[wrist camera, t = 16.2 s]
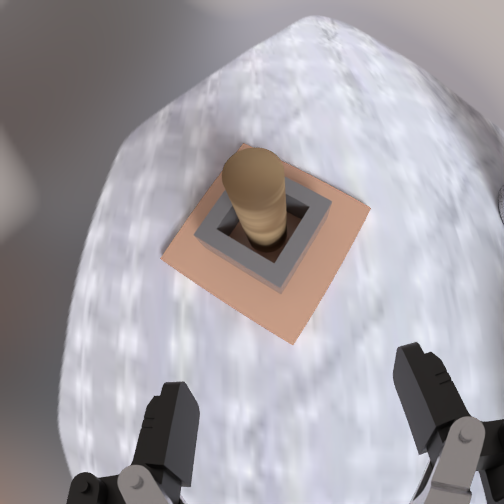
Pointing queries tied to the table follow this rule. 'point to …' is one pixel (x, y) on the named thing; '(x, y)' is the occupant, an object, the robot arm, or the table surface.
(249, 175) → the tan dome-topped cylinder
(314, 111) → the table surface
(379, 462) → the table surface
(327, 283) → the holder
